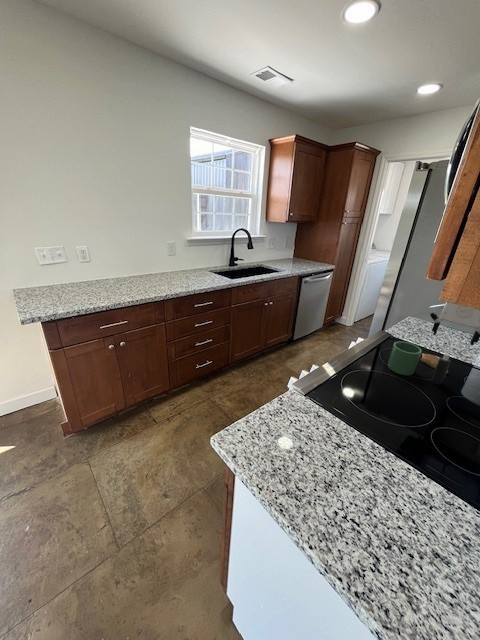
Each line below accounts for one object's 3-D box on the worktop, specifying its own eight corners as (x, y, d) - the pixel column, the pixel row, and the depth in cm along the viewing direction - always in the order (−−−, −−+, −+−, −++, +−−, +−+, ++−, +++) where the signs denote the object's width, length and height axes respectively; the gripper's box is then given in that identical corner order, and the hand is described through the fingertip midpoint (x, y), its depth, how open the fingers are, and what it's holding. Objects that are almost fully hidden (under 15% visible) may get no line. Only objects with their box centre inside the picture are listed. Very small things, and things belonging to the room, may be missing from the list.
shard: (447, 375, 95) (449, 371, 94) (422, 370, 97) (424, 365, 97) (440, 360, 104) (442, 356, 103) (418, 356, 107) (419, 352, 106)
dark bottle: (443, 383, 90) (455, 356, 86) (437, 385, 89) (448, 357, 85) (435, 378, 93) (445, 351, 88) (429, 380, 92) (439, 352, 87)
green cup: (419, 372, 96) (427, 351, 92) (401, 377, 93) (409, 355, 89) (399, 360, 103) (405, 340, 99) (382, 364, 100) (388, 343, 97)
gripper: (437, 282, 80) (419, 333, 87) (516, 297, 70) (488, 352, 77) (440, 278, 85) (422, 326, 92) (513, 291, 75) (487, 343, 82)
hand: (452, 338), depth 84 cm, fingers open, 9 cm apart
